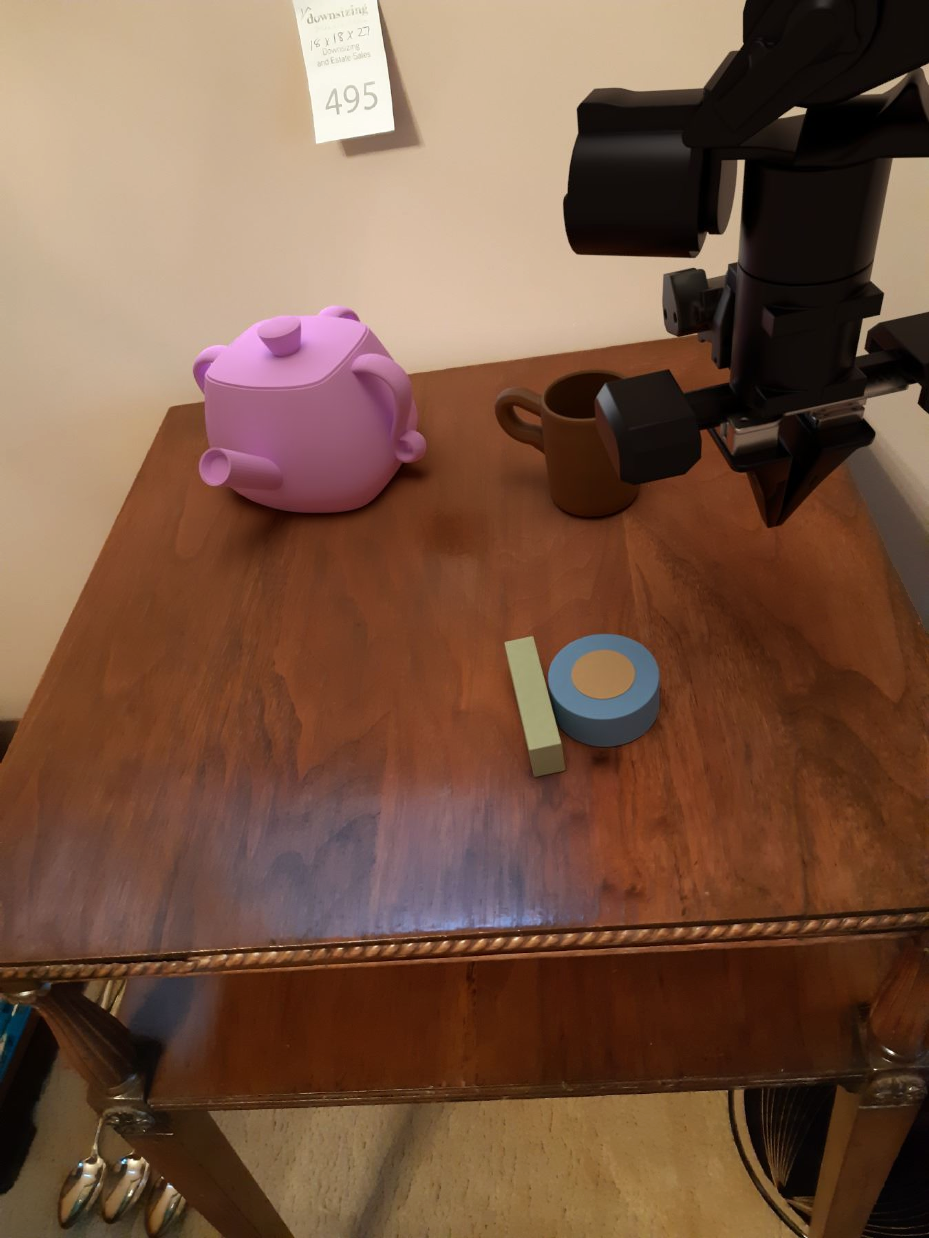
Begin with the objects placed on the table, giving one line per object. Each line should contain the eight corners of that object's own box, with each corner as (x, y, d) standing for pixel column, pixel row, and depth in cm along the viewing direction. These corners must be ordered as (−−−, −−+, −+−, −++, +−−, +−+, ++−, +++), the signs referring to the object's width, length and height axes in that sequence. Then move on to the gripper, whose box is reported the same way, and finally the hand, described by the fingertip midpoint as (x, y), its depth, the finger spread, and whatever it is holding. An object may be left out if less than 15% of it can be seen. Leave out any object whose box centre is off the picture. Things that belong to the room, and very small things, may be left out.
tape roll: (642, 653, 58) (641, 623, 55) (673, 734, 53) (674, 705, 51) (542, 674, 58) (538, 645, 56) (564, 757, 53) (560, 728, 51)
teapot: (398, 387, 87) (362, 251, 77) (455, 499, 73) (421, 349, 63) (221, 444, 86) (161, 312, 75) (243, 569, 71) (172, 427, 61)
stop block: (537, 664, 59) (533, 635, 56) (565, 770, 52) (561, 743, 50) (509, 670, 59) (504, 641, 56) (534, 777, 52) (528, 750, 50)
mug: (488, 503, 72) (470, 409, 65) (523, 451, 76) (510, 358, 69) (623, 527, 67) (619, 428, 60) (653, 470, 71) (652, 371, 64)
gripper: (919, 152, 43) (865, 413, 54) (561, 233, 43) (581, 475, 54) (1056, 236, 35) (959, 521, 46) (617, 333, 36) (627, 592, 47)
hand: (771, 522), depth 49 cm, fingers closed
